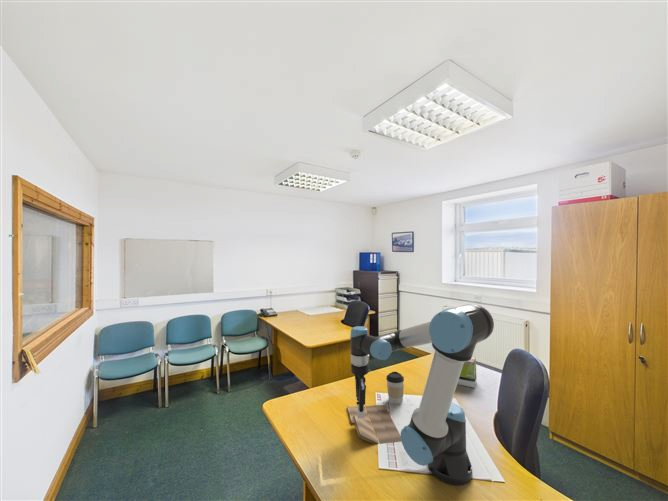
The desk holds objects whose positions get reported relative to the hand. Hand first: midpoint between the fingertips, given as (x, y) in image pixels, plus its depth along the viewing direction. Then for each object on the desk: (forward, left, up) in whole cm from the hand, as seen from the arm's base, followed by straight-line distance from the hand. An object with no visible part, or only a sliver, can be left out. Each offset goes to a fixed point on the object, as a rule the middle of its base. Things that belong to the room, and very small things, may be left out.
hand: (360, 417), depth 123 cm
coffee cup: (+24, -23, -9) cm, 34 cm away
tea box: (+40, -69, -9) cm, 80 cm away
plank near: (0, -1, -6) cm, 6 cm away
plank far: (+14, -1, -8) cm, 16 cm away
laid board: (+7, -11, -8) cm, 15 cm away
